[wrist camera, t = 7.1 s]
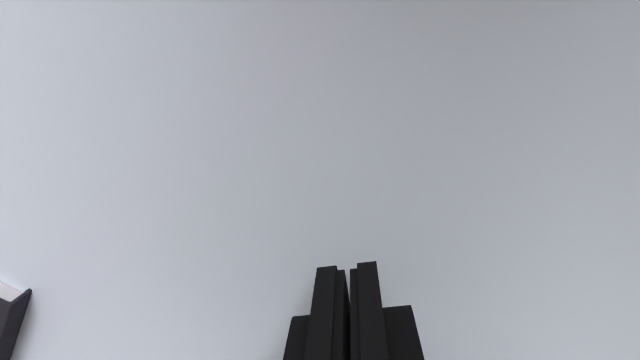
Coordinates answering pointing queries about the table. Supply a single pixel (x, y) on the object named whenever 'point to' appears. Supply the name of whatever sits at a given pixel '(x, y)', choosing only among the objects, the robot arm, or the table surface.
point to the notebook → (11, 316)
